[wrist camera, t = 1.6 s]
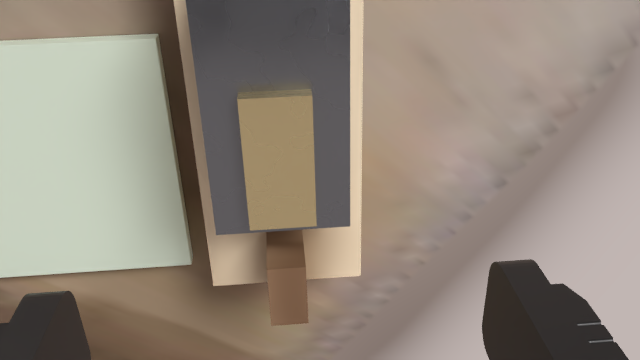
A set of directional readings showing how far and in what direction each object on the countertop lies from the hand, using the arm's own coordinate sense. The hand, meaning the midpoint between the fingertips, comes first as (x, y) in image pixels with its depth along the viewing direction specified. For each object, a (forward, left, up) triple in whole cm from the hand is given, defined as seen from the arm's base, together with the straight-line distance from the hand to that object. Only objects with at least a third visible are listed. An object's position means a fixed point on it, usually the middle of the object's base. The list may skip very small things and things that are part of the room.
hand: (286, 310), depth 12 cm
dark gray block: (0, 0, -14) cm, 14 cm away
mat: (-11, -5, -18) cm, 21 cm away
